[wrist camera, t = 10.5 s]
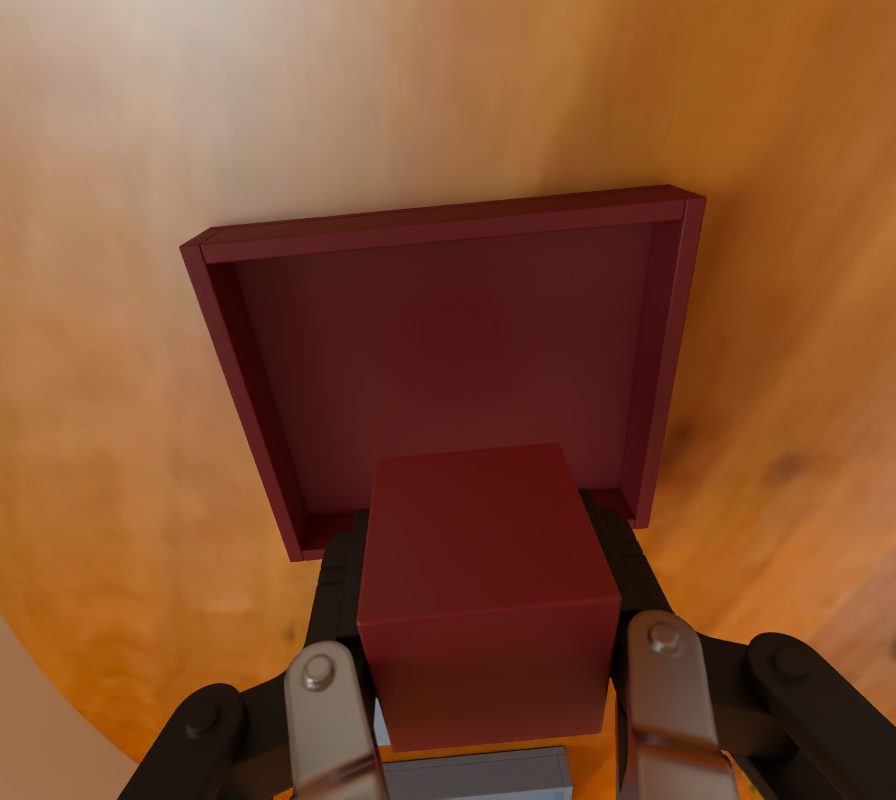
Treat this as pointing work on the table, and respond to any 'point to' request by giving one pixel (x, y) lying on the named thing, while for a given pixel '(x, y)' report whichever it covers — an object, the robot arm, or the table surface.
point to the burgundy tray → (451, 341)
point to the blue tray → (483, 777)
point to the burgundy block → (485, 599)
